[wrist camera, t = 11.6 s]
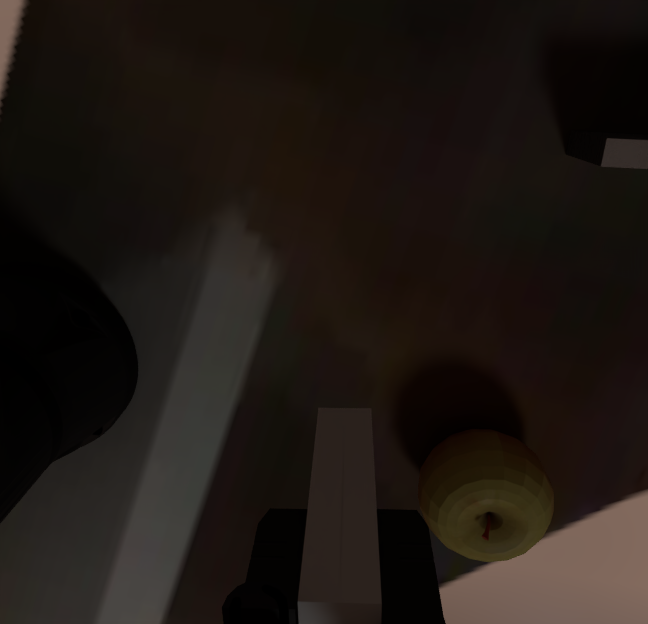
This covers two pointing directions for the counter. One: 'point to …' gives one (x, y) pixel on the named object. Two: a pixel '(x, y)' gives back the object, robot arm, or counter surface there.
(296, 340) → the counter surface
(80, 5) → the counter surface
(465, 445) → the apple
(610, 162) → the gray open-sided box
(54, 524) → the counter surface
